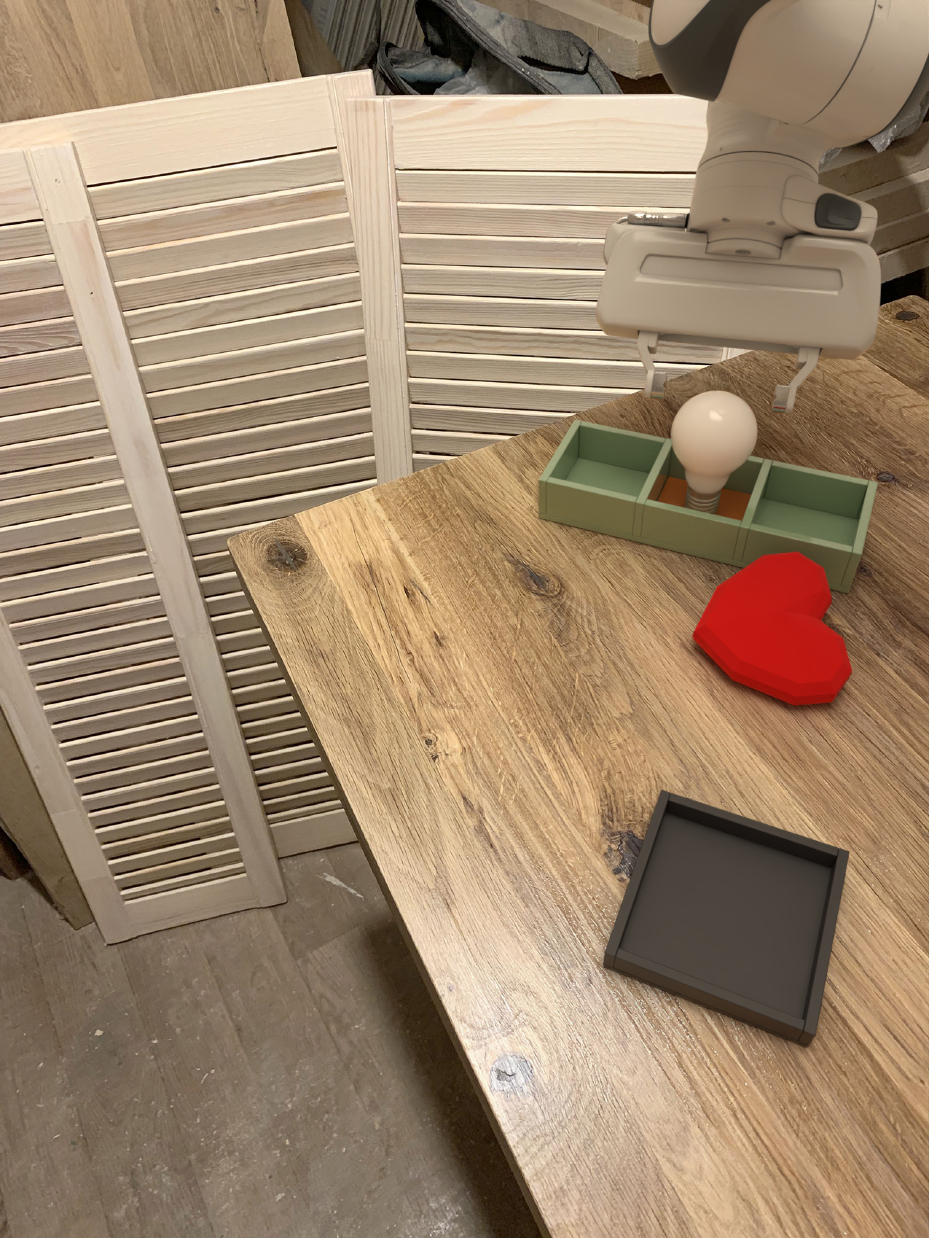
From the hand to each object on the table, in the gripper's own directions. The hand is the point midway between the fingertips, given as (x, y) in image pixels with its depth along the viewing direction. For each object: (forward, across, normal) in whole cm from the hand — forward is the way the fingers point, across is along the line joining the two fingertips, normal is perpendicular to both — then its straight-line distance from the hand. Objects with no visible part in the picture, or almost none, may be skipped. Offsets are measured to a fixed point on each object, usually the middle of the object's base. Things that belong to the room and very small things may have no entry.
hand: (716, 405), depth 70 cm
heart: (+18, +6, -3) cm, 19 cm away
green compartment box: (+8, 0, +6) cm, 10 cm away
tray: (+32, +6, -18) cm, 37 cm away
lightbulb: (+8, 0, +6) cm, 10 cm away
